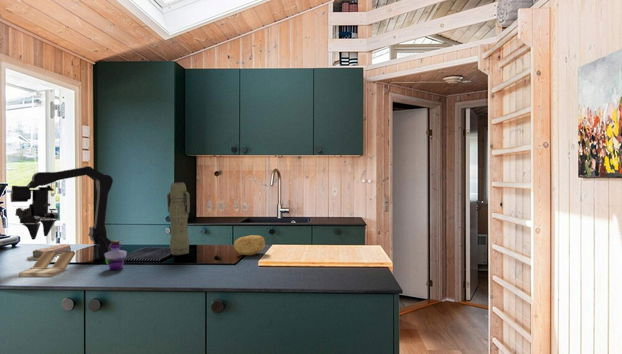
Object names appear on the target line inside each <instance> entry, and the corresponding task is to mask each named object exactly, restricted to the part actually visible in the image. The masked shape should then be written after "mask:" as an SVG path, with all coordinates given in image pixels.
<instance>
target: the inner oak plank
mask: <svg viewBox="0 0 622 354" xmlns="http://www.w3.org/2000/svg"><path fill="white" fill-rule="evenodd" d="M74 251H75V250H70V251H63V252H62V254H61V255H60V256H59V257H57V259H56V261H55V262H54V264H53V266H52V267H51V268H64V271H65V270H66V269H67V267H68V266H69V264H70V263H71V261H72V259H73V258H74V257H75V255H76V252H74Z"/></svg>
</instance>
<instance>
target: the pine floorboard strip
mask: <svg viewBox="0 0 622 354" xmlns="http://www.w3.org/2000/svg"><path fill="white" fill-rule="evenodd" d="M64 272H65V270H64V268H52V267H47V268H32V267H29V268H28V269H25V270H23V271H20V272H18V277H54V276H57V275H60V274H62V273H64Z"/></svg>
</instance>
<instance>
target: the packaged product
mask: <svg viewBox="0 0 622 354" xmlns="http://www.w3.org/2000/svg"><path fill="white" fill-rule="evenodd" d="M44 251H56V253H57V254H56V255H55V258H58V257H57V256H59V257H60V255H61V254H62V252H63V251H72V249H71V244H69V243H67V244H66V243H65V244H63V243H61V244H56V245H52V246H48V247H43V248H38V249H35V250H32V255H31V256H26V260H29V261H38V259H39V258H40V257H41V255H42V254H43V253H44ZM73 251H74V252H75V250H73ZM75 253H76V252H75Z"/></svg>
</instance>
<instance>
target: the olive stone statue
mask: <svg viewBox="0 0 622 354" xmlns="http://www.w3.org/2000/svg"><path fill="white" fill-rule="evenodd" d="M169 189H170V190H169V192H168V193H167V197H166V199H167V213H169V220H170V240H169V248H170V249H169V250H170V255H171V254H172V256H182V255H188V254H189V253H190V239H189V237H188V234H189V233H188V231H189V230H188V228H189V227H188V219H189V214H190V212H191V211H190V210H191V204H190V201H191V200H190V199H191V198H190V195H191V194H190V193H189V192H188V191H187V187H186V183H184V182H183V181H182V182H179V181H178V182H172V183H171V185H170V188H169Z"/></svg>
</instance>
